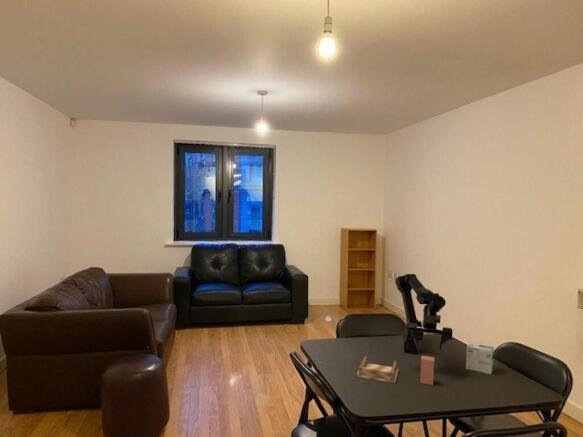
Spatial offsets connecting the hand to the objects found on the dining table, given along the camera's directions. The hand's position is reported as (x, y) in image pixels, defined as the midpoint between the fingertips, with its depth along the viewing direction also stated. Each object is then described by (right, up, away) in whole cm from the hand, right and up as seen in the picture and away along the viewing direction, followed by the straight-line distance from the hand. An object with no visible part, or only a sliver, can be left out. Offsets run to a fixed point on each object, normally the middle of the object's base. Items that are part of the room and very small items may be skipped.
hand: (428, 349), depth 171 cm
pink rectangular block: (-2, -12, -5) cm, 13 cm away
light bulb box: (+26, -13, +10) cm, 31 cm away
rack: (-21, -11, +2) cm, 24 cm away
